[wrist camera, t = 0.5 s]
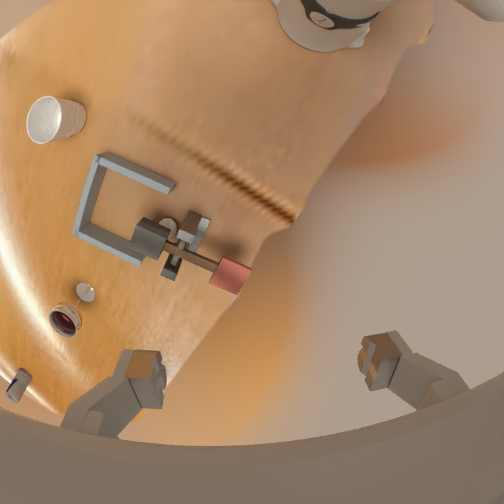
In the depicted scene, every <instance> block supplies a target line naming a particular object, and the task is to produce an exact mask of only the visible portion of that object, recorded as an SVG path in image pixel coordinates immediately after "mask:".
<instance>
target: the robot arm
mask: <svg viewBox="0 0 504 504" xmlns="http://www.w3.org/2000/svg"><path fill="white" fill-rule="evenodd" d="M394 1H396V0H271V2H272V3H273V5H274V6H275V8H276V9H277V13H278V19H279V23H280V25H281V27H282V29H283V30H284V32H285V33H286V34H287V35H288V36H289V37H290V38H291V39H292V40H293V41H295V42H296V43H297V44H299V45H301V46H303V47H305V48H307V49H310V50H314V51H319V52H332V51H336V50H339V49H342V48H355V49H357V48H360V47H362V46H363V44H364V40H365V37H366V34H367V33H368V32H369V31H370V28H369V26H370V23H371V21H372V20H373V19H374V18H375V17H376V16H377V15H378V14H379V12H380V10H382V9H383V8H385V7H386V6H388V5H390V4H391V3H393V2H394ZM455 1H457V2H458V3H459V4H461V5H462V6H464V7H465V8H467V9H468V10H470V11H471V12H473V13H475V14H476V15H477V16H479V17H480V18H482V19H484V20H487V21H494V22H504V0H455ZM361 345H362V346H363V348H362V349H361V350H360V351H359V354H358V366H359V369H360V372H361V373H362V374H364V375H366V378H365V382H366V384H367V386H368V388H369V390H370V391H374V390H379V389H383V388H388V389H389V390H391V391H392V392H393V393H395V394H396V395H398V396H399V397H400V398H402V399H403V400H404V401H406V402H407V403H408V404H410V405H411V406H413V407H414V408H415V409H417V411H416V412H413V413H410V414H408V415H405V416H401V417H398V418H395V419H392V420H388V421H385V422H381V423H378V424H374V425H371V426H367V427H363V428H359V429H354V430H350V431H346V432H341V433H336V434H331V435H326V436H320V437H315V438H308V439H302V440H295V441H287V442H278V443H268V444H255V445H237V446H184V445H165V444H154V443H144V442H135V441H127V440H120V439H119V438H118V436H117V435H118V434H119V433H120V432H121V431H122V430H123V429H124V428H125V427H126V426H127V425H128V424H129V422H130V421H131V420H132V419H133V418H134V417H135V416H136V415H137V414H138V413H139V412H140V411H141V408H149V409H162V405H163V399H164V395H163V392H162V391H163V390H164V389H165V388H166V383H167V375H166V369H165V366H164V365H163V364H161V361H162V356H161V353H160V351H151V350H130V349H124V350H123V351H122V352H121V355H120V357H119V360H118V362H117V365H116V367H115V370H114V372H113V375H112V377H107V378H106V379H105V380H103V381H102V382H100V383H99V384H98V385H96V386H95V387H94V388H92V389H91V390H89V391H88V392H87V393H85V394H84V395H82V396H81V397H80V398H78V399H77V400H76V401H74V402H73V403H71V404H70V405H69V407H68V409H67V411H66V414H65V416H64V419H63V421H62V423H61V426H60V427H58V426H54V425H50V424H47V423H44V422H40V421H37V420H34V419H31V418H28V417H25V416H22V415H19V414H17V413H14V412H11V411H9V410H6V409H4V408H1V407H0V504H504V372H503V373H501V374H499V375H498V376H496V377H494V378H492V379H490V380H488V381H487V382H484V383H483V384H481V385H478V386H476V387H474V388H472V389H469V387H468V386H467V384H466V383H465V382H464V380H463V379H462V378H461V377H460V375H459V374H458V373H457V372H455V371H454V370H451V369H449V368H447V367H445V366H443V365H441V364H439V363H436V362H434V361H432V360H430V359H428V358H426V357H424V356H422V355H420V354H418V353H413V352H412V351H411V349H410V348H409V346H408V345H407V344H406V342H405V341H404V340H403V338H402V337H401V336H400V334H399V333H398V332H397V331H390V332H385V333H381V334H375V335H370V336H364V338H363V339H362V343H361Z"/></svg>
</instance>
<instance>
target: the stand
mask: <svg viewBox="0 0 504 504" xmlns="http://www.w3.org/2000/svg"><path fill="white" fill-rule="evenodd" d="M200 219H201V220H200ZM209 222H210V219H208V218H206V217H204V216H202V218H201V215H199V214H197V213H195V212H193V211H191V210H189V212H188V214H187V216H186V218H185V220H184V222H183V224H182V226H181V228H180V230H179V232H178V235H177V238H179V239H181V240H183V241H186V242H188V243H190V244H189V246H188V248H187V249H188V250H190V251H193V252H195V251H196V249H197V247H198V245H199V243H200V241H201V239H202V237H203V235H204V233H205V231H206V229H207V227H208V224H209ZM175 244H176V243H175ZM172 258H173V254H171V253H170V254H169V256H168V259H167V261H166V263H165V265H164V268H163V270H162V272H161V276H164V277H166V278H168V279H170V280H173V281H175V278H176V276H177V274H178V271H179V268H180V265H181V262H182V258H180V257H179V259H178V262H177V264H176V265H172V264H171V263H170V262H171V260H172Z"/></svg>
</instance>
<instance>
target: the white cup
mask: <svg viewBox="0 0 504 504" xmlns="http://www.w3.org/2000/svg"><path fill="white" fill-rule="evenodd" d="M85 122H86V111H85V109H84V106H83V105H81V104H80V103H79V102H74V101H71V100H67V99H63V98H57V97H52V96H44V97H41V98H40V99H38V100H37V101H36V102H35V103H34V104H33V105H32V107H31V109H30V111H29V113H28V116H27V122H26V127H27V132H28V135H29V137H30V138H31V140H32V141H34V142H35V143H38V144H43V143H47V142H52V141H56V140H60V139H64V138H67V137H71V136H73V135H76V134H78V133H79V132H80V131H81V130H82V129H83V127H84V124H85Z"/></svg>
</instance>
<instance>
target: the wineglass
mask: <svg viewBox="0 0 504 504" xmlns="http://www.w3.org/2000/svg"><path fill="white" fill-rule="evenodd" d="M76 291H77V294H78V296H79V297H80V298H79V300H78V301H77V302H76V303H75V304H72V303H69V302H61V303H58V304H57V305H56V306H55V307H54V309H53V311H52V312H51V313H50V315H49V321H50V324H51V326H52V327H53V329H54V330H55V331H56V332H57V333H59V334H60V335H62V336H64V337H67V338H71V337H74V336H75V335H76V333H77V331H78V330H79V329H80V327H81V325H82V316H81V313H80V311H79V310H78V308H77V306H78V304H79V303H80V301H81V300H83V301H86V302H91V301H93V300H94V298H95V293H94V290H93V288H92V287H91V286H90V285H88V284H86V283H79V284H78V285H77V287H76Z"/></svg>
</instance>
